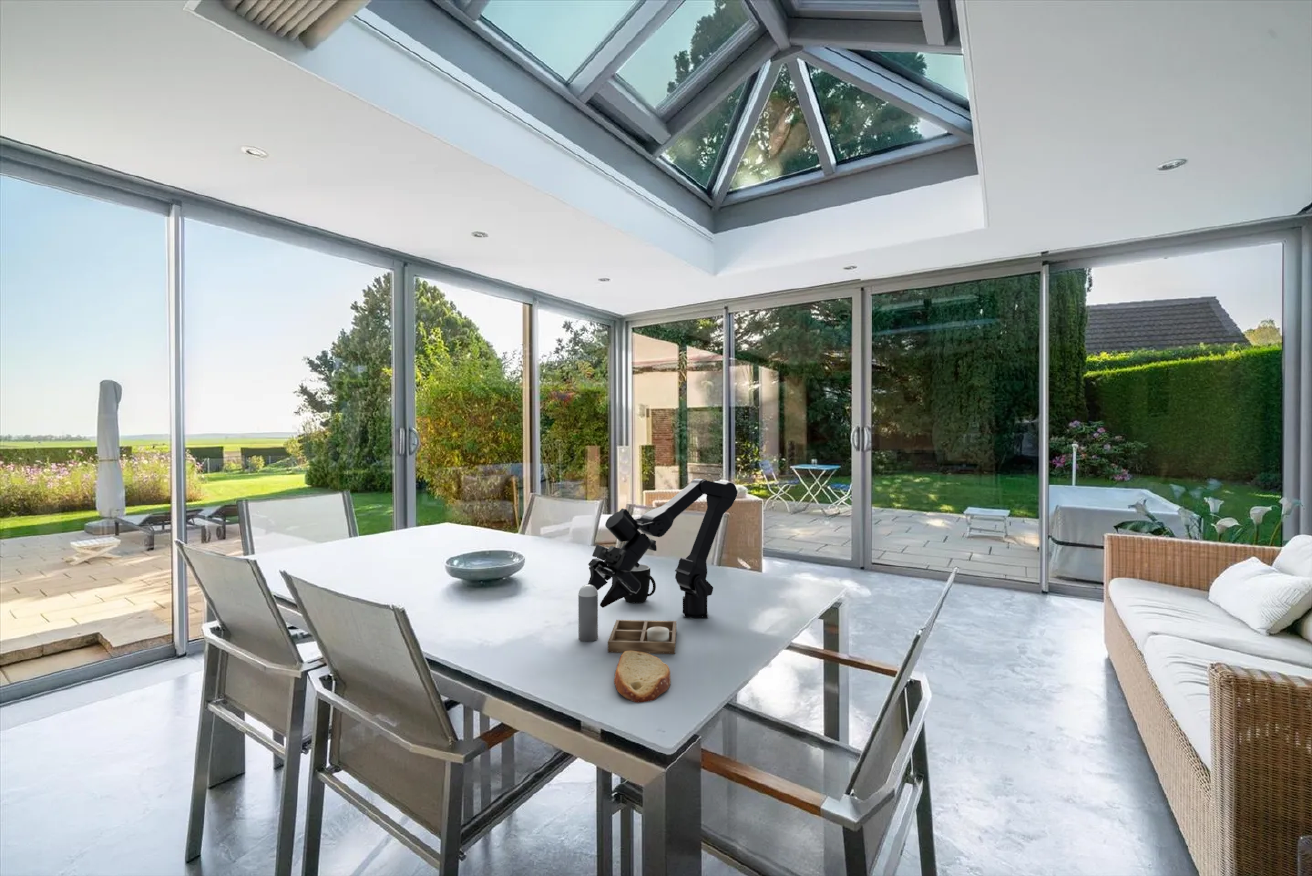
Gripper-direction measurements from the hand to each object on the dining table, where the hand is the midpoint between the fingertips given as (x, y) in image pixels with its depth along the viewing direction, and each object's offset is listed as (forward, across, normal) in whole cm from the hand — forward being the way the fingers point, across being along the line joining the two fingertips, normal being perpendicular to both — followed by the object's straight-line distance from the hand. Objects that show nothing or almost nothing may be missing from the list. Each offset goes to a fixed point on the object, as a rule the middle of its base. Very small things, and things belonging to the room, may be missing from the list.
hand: (592, 601), depth 142 cm
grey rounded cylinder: (+7, 0, +6) cm, 9 cm away
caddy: (0, +9, +13) cm, 16 cm away
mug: (-12, -20, +25) cm, 34 cm away
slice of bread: (+9, +26, +5) cm, 28 cm away
